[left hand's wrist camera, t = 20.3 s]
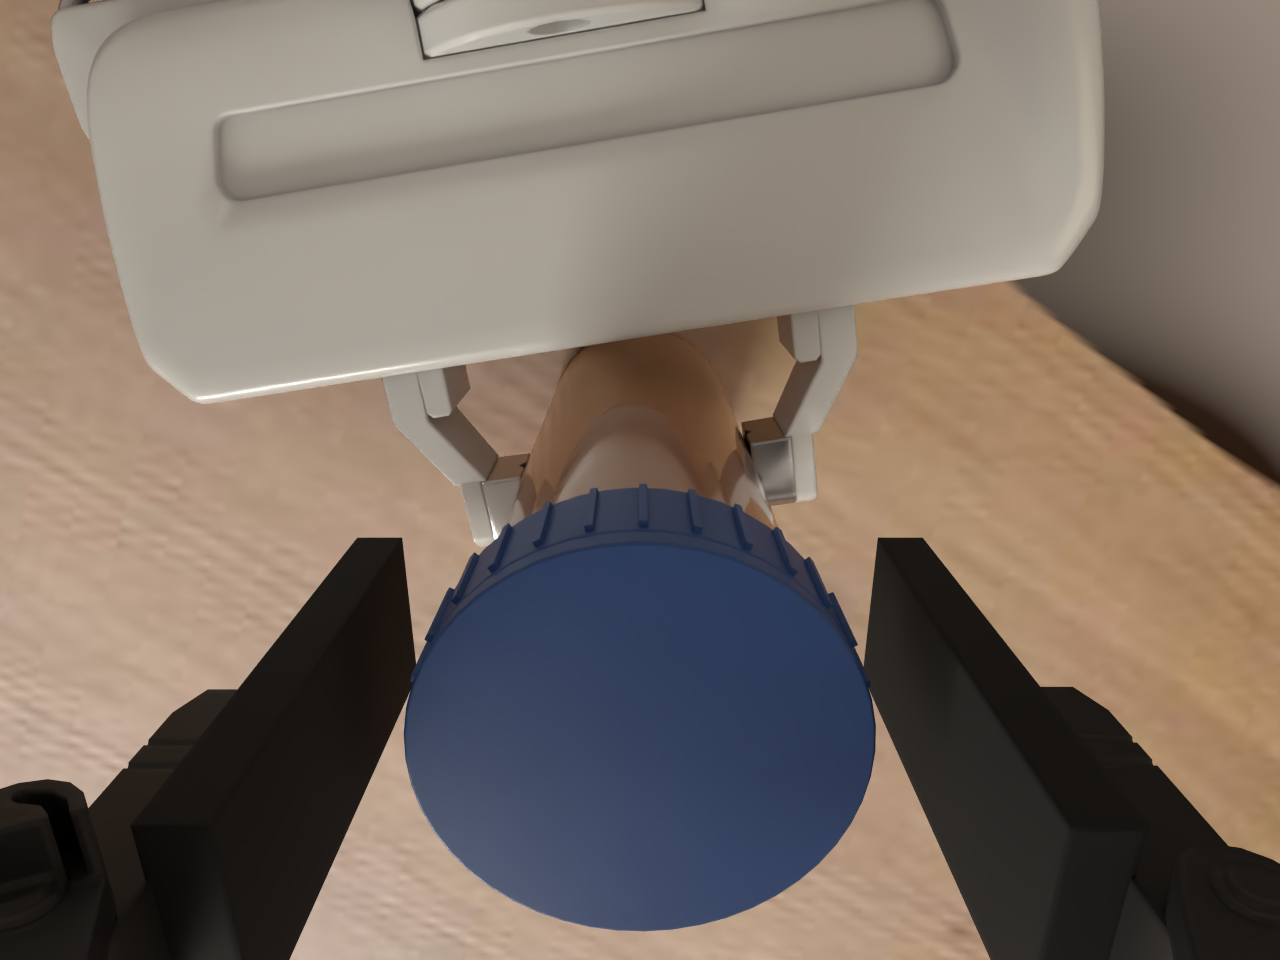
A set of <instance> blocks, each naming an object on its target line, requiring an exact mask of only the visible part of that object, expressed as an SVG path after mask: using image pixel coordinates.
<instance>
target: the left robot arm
mask: <svg viewBox="0 0 1280 960" xmlns="http://www.w3.org/2000/svg"><path fill="white" fill-rule="evenodd" d="M415 666H416V660H415V651H414V642H413V633H412V624H411V615H410V606H409V596H408V587H407V578H406V569H405V560H404V551H403V542H402V538H357V539H356V540H355V541H354V543H353V544H352V545H351V547H350V548H349V549H348V550H347V552H346V553H345V554H344V555H343V557H342V558H341V559H340V560H339V562H338V563H337V564H336V566H335V567H334V568H333V569H332V571H331V572H330V573H329V574H328V576H327V577H326V578H325V579H324V581H323V582H322V583H321V585H320V586H319V587H318V588H317V590H316V591H315V592H314V593H313V595H312V596H311V597H310V598H309V600H308V601H307V602H306V604H305V605H304V606H303V607H302V609H301V610H300V611H299V612H298V614H297V615H296V616H295V618H294V619H293V620H292V621H291V623H290V624H289V625H288V626H287V628H286V629H285V630H284V631H283V633H282V634H281V635H280V637H279V638H278V639H277V640H276V642H275V643H274V644H273V645H272V647H271V648H270V649H269V650H268V652H267V653H266V654H265V656H264V657H263V658H262V659H261V661H260V662H259V663H258V664H257V666H256V667H255V668H254V669H253V671H252V672H251V673H250V675H249V676H248V677H247V678H246V680H245V681H244V682H243V683H242V685H241V686H240V687H239V688H238V690H206V691H205V692H203V693H202V694H200V695H199V696H197V697H196V698H194V699H193V700H191V701H190V702H188V703H187V704H185V705H183V706H182V707H180V708H179V709H177V710H176V711H174V712H173V713H172V714H171V715H170V716H169V717H168V718H167V719H166V721H165V722H164V723H163V724H162V725H161V726H160V727H159V729H158V730H157V731H156V732H155V733H154V734H153V735H152V737H151V738H150V739H149V742H148V745H144V746H143V747H142V748H141V749H140V750H139V751H138V753H137V754H136V755H135V756H134V757H133V758H132V759H131V760H130V762H129V766H128V768H127V769H123V770H122V771H121V772H120V773H119V774H118V775H117V776H116V778H115V779H114V780H113V781H112V782H111V783H110V784H109V786H108V787H107V788H106V789H105V790H104V791H103V792H102V794H101V795H100V796H99V797H98V798H97V799H96V800H95V802H94V803H93V804H92V805H91V806H90V807H89V808H88V806H87V803H86V800H85V796H84V793H83V792H82V791H81V790H80V789H78V788H77V787H76V786H74V785H73V784H72V783H70V782H63V781H56V780H49V779H46V780H39V781H31V782H24V783H17V784H14V785H11V786H8V787H5V788H2V789H0V960H289V959H290V957H291V955H292V952H293V950H294V948H295V946H296V944H297V941H298V939H299V937H300V935H301V932H302V930H303V928H304V926H305V924H306V921H307V919H308V917H309V915H310V912H311V910H312V908H313V906H314V904H315V901H316V899H317V897H318V895H319V892H320V890H321V888H322V886H323V883H324V881H325V879H326V877H327V875H328V872H329V870H330V868H331V866H332V863H333V861H334V859H335V857H336V855H337V852H338V850H339V848H340V846H341V843H342V841H343V839H344V837H345V835H346V832H347V830H348V828H349V826H350V823H351V821H352V819H353V817H354V815H355V812H356V810H357V808H358V806H359V803H360V801H361V799H362V797H363V795H364V792H365V790H366V788H367V786H368V783H369V781H370V779H371V777H372V775H373V772H374V770H375V768H376V766H377V763H378V761H379V759H380V757H381V755H382V752H383V750H384V748H385V746H386V743H387V741H388V739H389V737H390V735H391V732H392V730H393V728H394V726H395V723H396V721H397V719H398V717H399V714H400V712H401V710H402V708H403V706H404V703H405V701H406V699H407V697H408V694H409V692H410V690H411V687H412V683H413V682H410V679H411V675H412V673H413V671H414V668H415ZM864 669H865V672H866V674H867V676H868V678H869V680H870V685H871V687H869V690H870V692H871V694H872V697H873V699H874V701H875V703H876V706H877V708H878V710H879V712H880V714H881V717H882V719H883V721H884V723H885V726H886V728H887V730H888V732H889V735H890V737H891V739H892V741H893V743H894V746H895V748H896V750H897V752H898V755H899V757H900V759H901V761H902V763H903V766H904V768H905V770H906V772H907V775H908V777H909V779H910V781H911V783H912V786H913V788H914V790H915V792H916V795H917V797H918V799H919V801H920V803H921V806H922V808H923V810H924V812H925V815H926V817H927V819H928V821H929V823H930V826H931V828H932V830H933V832H934V835H935V837H936V839H937V841H938V843H939V846H940V848H941V850H942V852H943V855H944V857H945V859H946V861H947V863H948V866H949V868H950V870H951V872H952V875H953V877H954V879H955V881H956V883H957V886H958V888H959V890H960V892H961V895H962V897H963V899H964V901H965V904H966V906H967V908H968V910H969V912H970V915H971V917H972V919H973V921H974V924H975V926H976V928H977V930H978V932H979V935H980V937H981V939H982V941H983V944H984V946H985V948H986V950H987V952H988V955H989V957H990V959H991V960H1280V864H1279V863H1277V862H1276V861H1274V860H1272V859H1269V858H1267V857H1264V856H1261V855H1258V854H1256V853H1253V852H1250V851H1247V850H1245V849H1242V848H1237V847H1230V846H1228V845H1227V844H1226V843H1225V842H1224V841H1223V840H1222V838H1221V837H1220V836H1219V835H1218V834H1217V833H1216V832H1215V830H1214V829H1213V828H1212V827H1211V826H1210V825H1209V824H1208V823H1207V821H1206V820H1205V819H1204V818H1203V817H1202V816H1201V815H1200V813H1199V812H1198V811H1197V810H1196V809H1195V808H1194V807H1193V806H1192V804H1191V803H1190V802H1189V801H1188V800H1187V799H1186V798H1185V796H1184V795H1183V794H1182V793H1181V792H1180V791H1179V790H1178V789H1177V787H1176V786H1175V785H1174V784H1173V783H1172V782H1171V781H1170V779H1169V778H1168V777H1167V776H1166V775H1165V774H1164V773H1163V772H1162V770H1161V769H1160V768H1159V767H1158V766H1153V764H1152V759H1151V758H1150V757H1149V756H1148V755H1147V753H1146V752H1145V751H1144V750H1143V749H1142V748H1141V747H1140V745H1139V744H1138V743H1133V741H1132V736H1131V735H1130V734H1129V733H1128V732H1127V731H1126V730H1125V729H1124V727H1123V726H1122V725H1121V724H1120V723H1119V722H1118V721H1117V719H1116V718H1115V717H1114V716H1113V715H1112V714H1111V713H1110V712H1109V710H1107V709H1106V708H1104V707H1103V706H1101V705H1100V704H1098V703H1097V702H1095V701H1093V700H1092V699H1090V698H1089V697H1087V696H1086V695H1084V694H1083V693H1081V692H1080V691H1078V690H1077V689H1075V688H1073V687H1040V686H1039V685H1038V683H1037V682H1036V681H1035V680H1034V678H1033V677H1032V676H1031V675H1030V673H1029V672H1028V671H1027V669H1026V668H1025V667H1024V666H1023V664H1022V663H1021V662H1020V661H1019V659H1018V658H1017V657H1016V656H1015V654H1014V653H1013V652H1012V650H1011V649H1010V648H1009V647H1008V645H1007V644H1006V643H1005V642H1004V640H1003V639H1002V638H1001V637H1000V635H999V634H998V633H997V631H996V630H995V629H994V628H993V626H992V625H991V624H990V623H989V621H988V620H987V619H986V618H985V616H984V615H983V614H982V612H981V611H980V610H979V609H978V607H977V606H976V605H975V604H974V602H973V601H972V600H971V598H970V597H969V596H968V595H967V593H966V592H965V591H964V590H963V588H962V587H961V586H960V585H959V583H958V582H957V581H956V579H955V578H954V577H953V576H952V574H951V573H950V572H949V571H948V569H947V568H946V567H945V566H944V564H943V563H942V562H941V560H940V559H939V558H938V557H937V555H936V554H935V553H934V552H933V550H932V549H931V548H930V547H929V545H928V544H927V543H926V541H925V540H924V539H923V538H878V542H877V551H876V560H875V569H874V578H873V587H872V596H871V605H870V615H869V624H868V633H867V642H866V651H865V660H864Z"/></svg>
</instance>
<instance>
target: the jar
mask: <svg viewBox="0 0 1280 960" xmlns="http://www.w3.org/2000/svg"><path fill="white" fill-rule="evenodd" d="M639 484H647V488H656V489H668V490H674V491H680V492H686V493H688V489H693V490H696V493H697V495H699V496H703V497H706V498H709V499H713V500H716V501H720V502H722V503H724V504H727V505H729V506H731V507H733V506H734V504H735V503H736V504H738V505H740V506H742V509H743V512H745V513H747V514H748V515H750V516H752V517H753V518H755V519H757V520H758V521H760V522H762V523H763V524H765V525H766V526H768V527H770V528H771V529H772V530H773V529H774V528H775V527H778V524H777V522H776V519H775V517H774V514H773V512H772V509H771V507H770V504H769V502H768V499H767V497H766V494H765V492H764V489H763V487H762V484H761V482H760V479H759V476H758V474H757V471H756V469H755V466H754V464H753V461H752V459H751V456H750V454H749V451H748V449H747V446H746V444H745V441H744V439H743V436H742V434H741V431H740V429H739V426H738V423H737V421H736V418H735V416H734V413H733V411H732V408H731V406H730V403H729V401H728V398H727V396H726V393H725V391H724V388H723V386H722V383H721V381H720V378H719V376H718V375H717V373H716V371H715V369H714V368H713V366H712V365H711V363H710V362H709V361H708V359H707V358H706V357H705V356H704V355H703V354H702V353H701V352H700V351H699V350H698V349H696V348H695V347H694V346H693V345H691V344H690V343H688V342H687V341H685V340H683V339H682V338H679V337H677V336H675V335H673V334H670V333H667V334H660V335H654V336H647V337H641V338H634V339H628V340H621V341H615V342H608V343H602V344H595V345H589V346H587V347H585V348H584V349H583V350H582V351H581V352H580V353H578V354H577V355H576V356H575V357H574V359H573V360H572V361H571V363H570V364H569V365H568V367H567V368H566V370H565V372H564V373H563V375H562V377H561V380H560V382H559V384H558V387H557V389H556V392H555V394H554V397H553V399H552V402H551V404H550V407H549V409H548V412H547V414H546V417H545V419H544V422H543V424H542V427H541V429H540V432H539V434H538V437H537V440H536V442H535V445H534V447H533V450H532V452H531V455H530V457H529V460H528V462H527V465H526V467H525V470H524V472H523V475H522V477H521V480H520V482H519V485H518V487H517V490H516V492H515V495H514V497H513V500H512V502H511V505H510V507H509V510H508V512H507V515H506V517H505V520H504V522H503V525H502V527H501V530H500V532H499V535H498V537H499V536H500V533H501V531H502V528H503V527H504V526H505V525H507V524H508V523H509V524H510V525H511V526H514V525H515V524H517V523H518V522H520V521H521V520H523V519H524V518H526V517H528V516H530V515H532V514H534V513H536V512H538V511H540V510H542V508H543V504H544V503H546V502H549V501H551V503H552V505H553V504H556V503H558V502H561V501H564V500H567V499H570V498H573V497H576V496H580V495H585V494H589V492H590V489H592V488H598V492H599V491H604V490H613V489H625V488H639ZM778 528H779V527H778ZM498 537H497V538H498Z"/></svg>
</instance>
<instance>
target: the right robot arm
mask: <svg viewBox="0 0 1280 960" xmlns="http://www.w3.org/2000/svg"><path fill="white" fill-rule="evenodd" d="M89 2H90V0H61V1H60V3H59V8H58V11H57V12H55V13H54V15H53V17H52V19H51V36H52V43H53V48H54V53H55V56H56V59H57V62H58V65H59V67H60V70H61V73H62V76H63V79H64V81H65V84H66V87H67V90H68V93H69V95H70V98H71V101H72V104H73V106H74V109H75V112H76V115H77V118H78V120H79V122H80V125H81V127H82V129H83V131H84V132H85V134H86V136H87V137H88V139H89V140H90V144H91V151H92V157H93V163H94V168H95V174H96V179H97V184H98V190H99V195H100V200H101V205H102V210H103V215H104V220H105V224H106V229H107V233H108V237H109V241H110V245H111V249H112V253H113V258H114V262H115V266H116V270H117V274H118V277H119V281H120V285H121V288H122V292H123V296H124V300H125V303H126V306H127V310H128V313H129V316H130V320H131V323H132V326H133V330H134V333H135V336H136V339H137V341H138V344H139V347H140V349H141V352H142V355H143V357H144V358H145V360H146V362H147V364H148V365H149V366H150V368H151V369H152V370H153V371H155V372H156V373H157V374H158V375H160V376H161V377H162V378H163V379H164V380H166V381H167V382H168V383H169V384H171V385H172V386H173V387H174V388H176V389H177V390H178V391H179V392H181V393H182V394H183V395H185V396H186V397H188V398H189V399H190V400H192V401H194V402H196V403H200V404H211V403H218V402H225V401H232V400H238V399H245V398H251V397H258V396H264V395H271V394H277V393H284V392H290V391H297V390H303V389H310V388H316V387H323V386H329V385H336V384H342V383H349V382H355V381H362V380H368V379H374V378H381V377H382V381H383V385H384V388H385V392H386V396H387V400H388V403H389V407H390V411H391V414H392V418H393V422H394V425H395V426H396V427H397V428H398V429H399V430H400V431H401V432H402V433H403V434H404V435H405V436H406V437H407V438H408V439H409V440H410V441H411V442H412V443H413V444H414V445H415V446H416V447H417V448H418V449H419V450H420V451H421V452H422V453H423V454H424V455H425V456H426V457H427V458H428V459H429V460H430V461H431V462H432V463H433V464H434V465H435V466H436V467H437V468H438V469H439V470H440V471H441V472H442V473H443V474H444V475H445V476H446V477H447V478H448V479H449V480H450V481H451V482H452V483H453V484H454V485H460V487H461V491H462V495H463V499H464V503H465V507H466V511H467V515H468V519H469V523H470V527H471V531H472V535H473V539H474V542H475V543H476V545H477V546H478V547H484V546H489V545H490V544H491V543H492V542H493V541H494V540H495V539H497V537H498V535H499V532H500V530H501V527H502V525H503V522H504V520H505V517H506V515H507V512H508V510H509V507H510V505H511V502H512V500H513V497H514V495H515V492H516V490H517V487H518V485H519V482H520V480H521V477H522V475H523V472H524V470H525V467H526V465H527V462H528V460H529V457H530V454H521V455H513V456H505V457H498V454H497V453H496V452H495V451H494V450H493V449H492V447H491V446H490V445H489V444H488V443H487V442H486V440H485V439H484V438H483V437H482V436H481V435H480V433H479V432H478V431H477V430H476V429H475V428H474V427H473V425H472V424H471V423H470V422H469V421H468V420H467V418H466V417H465V416H464V415H463V414H462V413H461V411H460V410H459V409H458V408H457V407H456V406H457V404H458V403H459V402H460V401H461V399H462V398H463V397H464V396H465V394H466V393H467V392H468V391H469V389H470V385H469V380H468V376H467V371H466V366H465V364H472V363H478V362H485V361H491V360H498V359H504V358H511V357H517V356H524V355H530V354H537V353H543V352H550V351H556V350H563V349H569V348H576V347H582V346H589V345H595V344H602V343H608V342H615V341H621V340H628V339H634V338H641V337H647V336H654V335H660V334H667V333H673V332H680V331H686V330H693V329H699V328H706V327H712V326H719V325H725V324H732V323H738V322H745V321H751V320H758V319H764V318H771V317H777V322H778V331H779V340H780V342H781V343H782V344H783V346H784V347H785V348H786V349H787V350H788V351H789V353H790V354H791V355H792V356H793V357H794V359H796V360H797V361H796V363H795V365H794V368H793V370H792V372H791V375H790V377H789V379H788V381H787V384H786V386H785V388H784V391H783V393H782V395H781V397H780V400H779V402H778V404H777V406H776V409H775V411H774V413H773V416H774V417H770V418H764V419H758V420H752V421H746V422H741V424H742V433H743V439H744V441H745V444H746V446H747V449H748V451H749V454H750V456H751V459H752V461H753V464H754V466H755V469H756V471H757V474H758V476H759V479H760V482H761V484H762V487H763V489H764V492H765V494H766V497H767V499H768V502H769V504H770V506H773V505H780V504H788V503H795V502H802V501H809V500H815V499H816V498H817V479H816V467H815V455H814V443H813V433H818V432H819V430H820V428H821V426H822V424H823V422H824V420H825V418H826V416H827V414H828V412H829V410H830V408H831V406H832V404H833V402H834V401H835V399H836V397H837V395H838V393H839V391H840V389H841V387H842V385H843V383H844V381H845V379H846V377H847V375H848V373H849V371H850V369H851V367H852V365H853V363H854V361H855V359H856V358H857V339H856V321H855V304H862V303H868V302H875V301H881V300H888V299H894V298H900V297H907V296H913V295H920V294H926V293H933V292H939V291H946V290H952V289H959V288H965V287H972V286H978V285H985V284H991V283H998V282H1004V281H1011V280H1017V279H1024V278H1030V277H1037V276H1043V275H1048V274H1051V273H1053V272H1056V271H1057V270H1059V269H1060V268H1061V267H1062V266H1063V265H1064V263H1065V262H1066V261H1067V260H1068V258H1069V257H1070V256H1071V255H1072V253H1073V252H1074V250H1075V249H1076V248H1077V246H1078V245H1079V243H1080V242H1081V240H1082V239H1083V237H1084V236H1085V234H1086V233H1087V232H1088V230H1089V228H1090V227H1091V226H1092V224H1093V222H1094V221H1095V219H1096V217H1097V214H1098V212H1099V208H1100V202H1101V196H1102V188H1103V175H1104V147H1105V98H1104V65H1103V45H1102V29H1101V16H1100V3H1099V0H103V1H97V2H92V3H89Z"/></svg>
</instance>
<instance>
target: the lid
mask: <svg viewBox="0 0 1280 960" xmlns="http://www.w3.org/2000/svg"><path fill="white" fill-rule="evenodd" d="M425 640H426V641H427V642H426V645H425V647H424V649H423V651H422V653H421V655H420V658H419V660H418V662H417V664H416V666H415V668H414V671H413V673H412V675H411V679H410V682H413V683H412V687H411V691H410V695H409V699H408V703H407V707H406V715H405V726H404V743H405V758H406V763H407V767H408V772H409V776H410V781H411V785H412V788H413V790H414V793H415V795H416V798H417V800H418V803H419V805H420V808H421V810H422V812H423V813H424V815H425V817H426V819H427V820H428V822H429V824H430V826H431V827H432V829H433V831H434V832H435V833H436V835H437V836H438V837H439V839H440V840H441V841H442V842H443V844H444V845H445V846H446V848H447V849H448V850H449V851H450V852H451V853H452V854H453V855H454V856H455V857H456V858H457V859H458V860H459V861H460V862H461V863H462V864H463V865H464V866H465V867H466V868H467V869H468V870H469V871H470V872H471V873H473V874H474V875H475V876H477V877H478V878H479V879H480V880H482V881H483V882H484V883H486V884H487V885H488V886H490V887H491V888H493V889H494V890H496V891H498V892H499V893H501V894H503V895H504V896H506V897H508V898H509V899H511V900H513V901H515V902H517V903H519V904H521V905H524V906H526V907H528V908H530V909H532V910H534V911H536V912H539V913H542V914H545V915H548V916H551V917H554V918H557V919H560V920H563V921H567V922H571V923H576V924H580V925H584V926H588V927H595V928H603V929H611V930H623V931H656V930H671V929H678V928H684V927H690V926H696V925H701V924H705V923H709V922H712V921H716V920H720V919H724V918H727V917H730V916H732V915H735V914H737V913H740V912H743V911H745V910H748V909H750V908H753V907H755V906H757V905H759V904H761V903H763V902H765V901H766V900H768V899H770V898H772V897H774V896H776V895H778V894H779V893H781V892H782V891H784V890H785V889H787V888H788V887H790V886H791V885H793V884H794V883H796V882H797V881H799V880H800V879H801V878H802V877H804V876H805V875H806V874H807V873H808V872H809V871H811V870H812V869H813V868H814V867H815V866H817V865H818V864H819V863H820V862H821V861H822V859H823V858H824V857H825V856H826V855H827V854H828V853H829V852H830V851H831V850H832V849H833V848H834V846H835V845H836V844H837V843H838V841H839V840H840V838H841V837H842V836H843V834H844V833H845V831H846V830H847V828H848V827H849V826H850V824H851V822H852V821H853V819H854V817H855V815H856V813H857V811H858V809H859V807H860V805H861V803H862V801H863V798H864V795H865V792H866V789H867V786H868V783H869V780H870V777H871V772H872V766H873V761H874V755H875V732H876V724H875V718H874V711H873V704H872V698H871V695H870V692H869V689H868V688H869V687H871V685H870V680H869V678H868V676H867V674H866V672H865V669H864V667H863V665H862V663H861V661H860V658H859V656H858V654H857V652H856V650H855V648H854V647H855V646H857V645H858V644H857V642H856V640H855V638H854V636H853V633H852V631H851V629H850V627H849V625H848V623H847V620H846V618H845V616H844V614H843V612H842V610H841V608H840V605H839V603H838V601H837V599H836V597H835V595H834V593H833V592H832V593H830V594H828V593H827V591H826V589H825V586H824V584H823V582H822V580H821V578H820V575H819V573H818V571H817V569H816V566H815V564H814V562H813V561H812V559H811V558H810V557H808V558H807V559H804V558H803V557H802V556H801V555H800V554H799V553H798V552H797V551H796V550H795V549H794V548H793V547H792V546H791V544H789V543H788V542H787V541H786V540H785V538H784V536H783V533H782V531H781V530H780V529H779V528H778V527H775V528H774V529H773V530H772V529H771V528H770V527H768V526H766V525H765V524H763V523H762V522H760V521H758V520H757V519H755V518H753V517H752V516H750V515H748V514H747V513H745V512H743V509H742V506H740V505H738V504H736V503H735V504H734V506H733V507H731V506H729V505H727V504H724V503H722V502H720V501H716V500H713V499H709V498H706V497H703V496H699V495H697V493H696V490H693V489H688V493H686V492H680V491H674V490H668V489H656V488H647V484H639V488H625V489H613V490H604V491H599V492H598V488H592V489H590V492H589V494H585V495H580V496H576V497H573V498H570V499H567V500H564V501H561V502H558V503H556V504H553V505H552V503H551V501H549V502H546V503H544V504H543V508H542V510H540V511H538V512H536V513H534V514H532V515H530V516H528V517H526V518H524V519H523V520H521V521H520V522H518V523H517V524H515V525H514V526H511V525H510V524H509V523H508V524H507V525H505V526H504V527H503V528H502V531H501V533H500V536H499V537H498V538H497V539H495V540H494V541H493V542H492V543H491V544H490V545H489V546H488V547H486V548H485V549H484V550H483V551H482V552H481V554H480V555H477V554H476V553H473V555H472V556H471V557H470V559H469V561H468V563H467V565H466V568H465V570H464V572H463V574H462V577H461V579H460V581H459V583H458V585H457V586H456V588H455V589H452V588H449V589H448V591H447V593H446V595H445V597H444V599H443V601H442V603H441V605H440V608H439V610H438V612H437V614H436V616H435V618H434V620H433V622H432V625H431V627H430V629H429V631H428V633H427V635H426V637H425Z"/></svg>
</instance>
